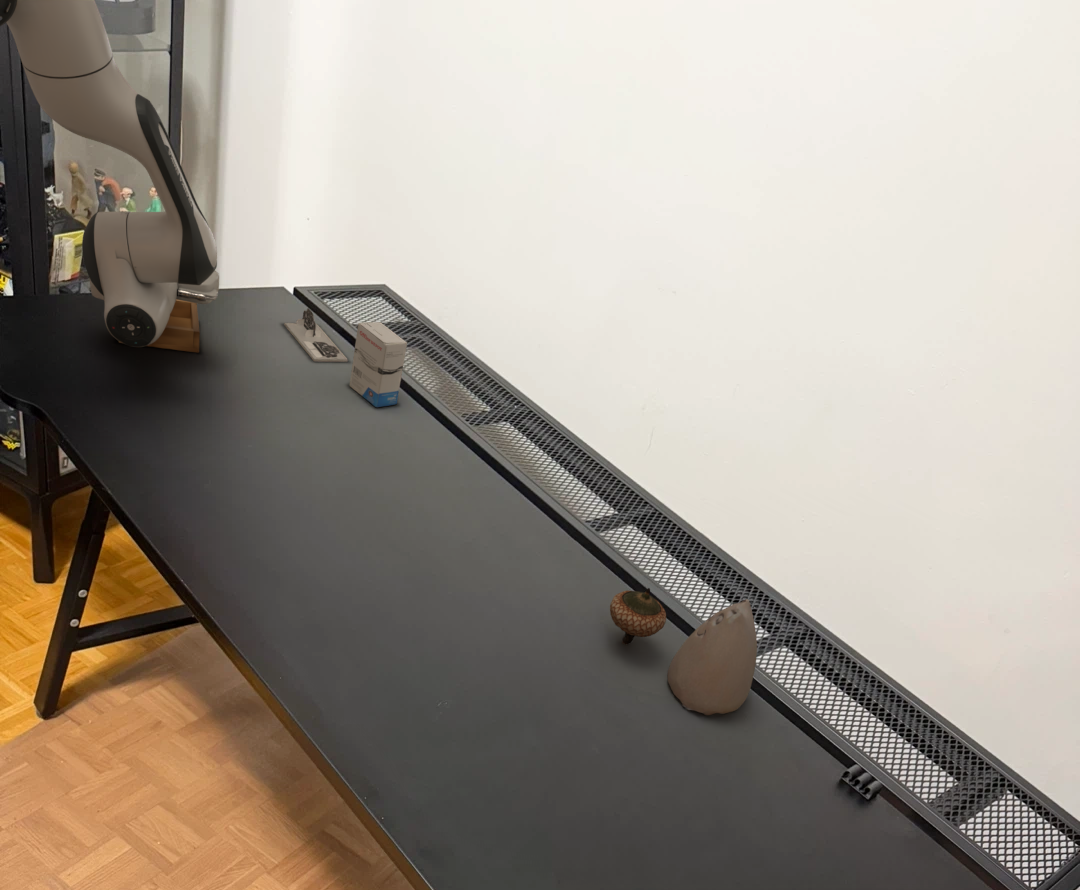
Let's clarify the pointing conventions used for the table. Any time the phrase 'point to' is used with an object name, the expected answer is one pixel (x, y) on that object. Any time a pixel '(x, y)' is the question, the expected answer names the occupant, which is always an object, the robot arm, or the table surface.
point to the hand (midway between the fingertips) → (161, 258)
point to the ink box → (377, 364)
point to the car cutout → (315, 340)
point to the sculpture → (716, 662)
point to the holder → (181, 329)
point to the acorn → (637, 614)
